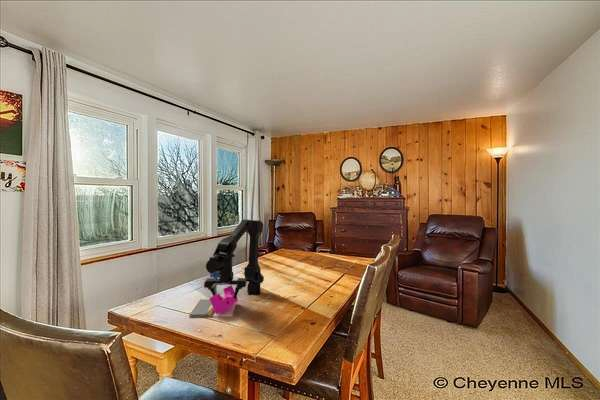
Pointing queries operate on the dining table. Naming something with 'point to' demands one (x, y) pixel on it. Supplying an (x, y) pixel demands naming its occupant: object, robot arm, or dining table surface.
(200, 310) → the hinge leaf
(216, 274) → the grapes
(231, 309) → the leaf pad
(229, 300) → the toy block
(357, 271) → the dining table surface
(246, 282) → the robot arm
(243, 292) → the dining table surface
